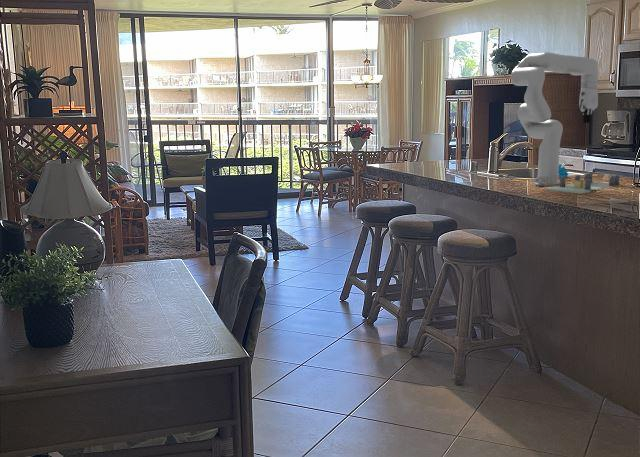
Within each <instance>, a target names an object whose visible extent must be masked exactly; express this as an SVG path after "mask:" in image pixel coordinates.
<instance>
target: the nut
mask: <svg viewBox="0 0 640 457" xmlns="http://www.w3.org/2000/svg"><path fill="white" fill-rule="evenodd" d="M573 183H574V188H585V180H584V179H582V180H581V179H580V180H575V179H574V180H573Z"/></svg>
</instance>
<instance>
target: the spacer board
mask: <svg viewBox="0 0 640 457" xmlns="http://www.w3.org/2000/svg"><path fill="white" fill-rule="evenodd" d="M620 176H621V175H620V174H614V175H609V179H608V183H606V182H597V181H596V182H595V181H593V172H587V173H584V174H583V180H585V188H574V182H573V183H569V184H566V179H567V178H566V177H559V182H560V184H559V185H553V186H546V187H545V191H553V192H554V191H555V192H561V193H562V192H563V193H571V194H586V193H587V194H588V193H593V192H594V193H595V192H597V190H598V189H604V188H610V187H611V188H612V187H615V186H616V187H617V186H620ZM575 180H581V175H580V174H575V175H574V181H575Z"/></svg>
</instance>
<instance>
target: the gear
mask: <svg viewBox="0 0 640 457" xmlns="http://www.w3.org/2000/svg"><path fill="white" fill-rule="evenodd" d="M568 175H569V169H566V167H565V166H563V167H562V164H560V163H559V169H558V178H560V177H566V179H567V178H568Z"/></svg>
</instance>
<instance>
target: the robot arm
mask: <svg viewBox="0 0 640 457" xmlns="http://www.w3.org/2000/svg"><path fill="white" fill-rule="evenodd" d="M546 72H551V73H556V74H569V75H571V76H581V77H580V78H581V79H580V93H579V98H578V99H579V101H578V107H579V109H580V112H582V115H583V119H582V122H583V124H591V123H592V114H593V112H594V111H595V109H598V107H599V93H598V92H599V91H598V75H599V74H598V73H599V62H598V60H595V59H593V58H590V57H585V56H575V55H566V54H560V53H555V52H549V51H542V52H532V53H530V54H528V55H526V56H525V57H524V58H523V59H522V60H521V61H520V62H519V63H518V64H517V65H516V66H515V67H514V68H513V70H512V71H511V73H510V81H511V84H513V85H514V86H516V87H525V86H527V87H526V91H525V93H524V97H523V101H524V103H522V104H521V105H520V106H519V108H518V109H517V118H518V119H519V122H520V124H521V125H522V128H523V129H524V131H525V132H526V134H527V136H528V137H529V138H532V139H534V140H535V139H536V140H537V139H538V140H542V141H541V142H540V145H539V147H538V158H537V159H538V160H537V161H538V163H537V164H538V165H537V175H536V177H535V178H532V183H533V185H535V186H541V187H549V186H555V185H560V181H559V174H558V169H559V164H560V149H561V148H560V146H561V140H562V135H563V131H564V130H563V129H564V127H563V124H562V122H560V120H556V119H551V117H552V112H551V108H550V107H549V105H548V103H547V100H546V99H545V97H544V94H543V86H544V83H545V78H546Z"/></svg>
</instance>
